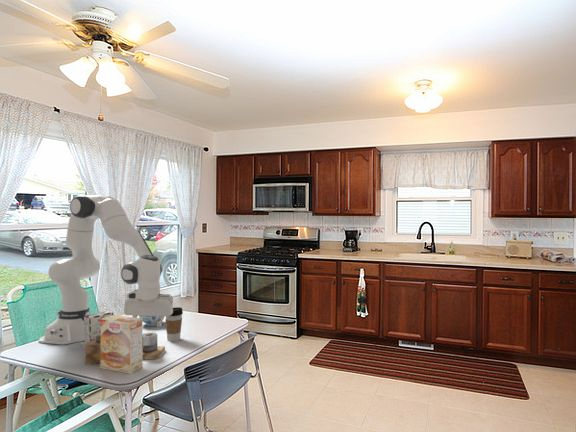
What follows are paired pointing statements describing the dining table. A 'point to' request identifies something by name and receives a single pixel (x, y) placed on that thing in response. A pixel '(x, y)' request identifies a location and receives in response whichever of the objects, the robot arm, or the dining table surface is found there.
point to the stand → (93, 352)
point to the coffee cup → (174, 324)
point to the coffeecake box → (121, 343)
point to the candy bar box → (93, 325)
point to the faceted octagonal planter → (149, 339)
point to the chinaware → (150, 320)
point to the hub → (152, 350)
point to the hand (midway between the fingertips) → (148, 325)
